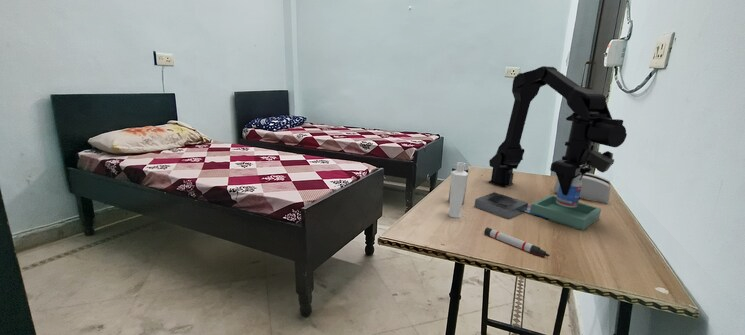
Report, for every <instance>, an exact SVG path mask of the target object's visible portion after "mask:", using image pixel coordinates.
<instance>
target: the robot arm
mask: <svg viewBox="0 0 745 335" xmlns="http://www.w3.org/2000/svg"><path fill="white" fill-rule="evenodd" d="M544 86H549V87H550V88H551V89H553V90H554V91H555V92H557V94H559V95H560V96H562V97H563V98H564V99H565V100H566V104H567V107H569V108H570V110H571V111H572V112H573V113H572V114H570V115H569V116H567V117H566V118H565V119H566V121H570V122H571V125H570V132H569V136H568V140H567V141H565V142H564V146H565V147H566V150H565V153H564V155H562V156H561V159H558V160H555V161H553V162H551V164H550V172H553V173H555V174H556V177H557V178H558V180H559V184H560V187H561V190H562V194H563V195H567V194H568V192H569V190H570V188H571V185H572V183H573V180H574V179H575V178H576V177H578V176H580V175H581V178H580V179H579V180H580V181H581V179H582V177H583V175H584V174H585V173H590V172H591V171H593V169H596V170H597V172H599V173H606V172H607V171H609V169H610V168H611V166H613V164H614V163H615V159H614V158H613V156H614V153H612V152H611V151H609V150H607V151H604V152H601V151H597V150H595V148H596V145H595V144H598V145H603V146H607V147H610V148H618V147H620V146H621V145H623V144H624V142H625V140H626V138H627V135H628V134H627V129H626V126H624V120H623V119H619V118H618V119H617V118H616V119H615V118H613V117H612V114H611V111H610V110H609V107H608V105H607V98H606V96H605V95H604V94H603V93H601V92H598V91H595V90H592V89H589V88H586V87H583V86H581V85H579V84H577V83H576V82H574V81H573V80H572V79H570V78H569V77H568V76H566V75H564V74H563V73H562V72H560V71H559V70H558V69H557V68H556V67H554V66H540V67H538V68H536V69H535V68H534V69H532V70H529V71H524V72H520V73H518V74H516V75H515V76H514V78H513V81H512V86H511V93H512V94H513V98H514V102H513V105H512V106H513V107H512V110H511V114H510V118H509V122H508V127H507V130H506V133H505V134H506V136H505V138H504V141H502V143H501V144H500V145H499V146H498V148H497V150H496V153H495V154H494V155H493V156H492V157H491V158H490V159H489V167H491V168H492V172H491V179H490V180H488V183H489V184H493V185H496V186H499V187H503V188H506V187H508V186H511V185H513V180H514V171H513V170H514V169H515V170H517V169H518V167H519V165H520V164H521V161H524V159H523V158H524V154H525V149H524V148H522V145H521V139H522V135H523V132H524V128H525V124H526V120H527V117H528V112H529V109H530V104H531V102H532V101H533V100H534V99H535V98H536V96H537V95H538V94H539V91H540V89H541V87H544ZM588 166H591V168H590V167H588ZM579 172H580V173H581V174H579ZM557 178H556V179H557Z"/></svg>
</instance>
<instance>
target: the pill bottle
mask: <svg viewBox="0 0 745 335" xmlns="http://www.w3.org/2000/svg"><path fill="white" fill-rule="evenodd" d="M579 174H581V173H580V172H579ZM580 178H581V175H580V176H578V177H576V178H575V179H574V180H573V183H572V185H571V188H570V190H569V192H568V194H567V195H563V194H562V190H561V187H560V186H559V191H558V193H557V195H556V196H557V200H556V203H557V204H559V205H561V206H564V207H570V208H573V207H576V206H577V204H578V202H579V199H580V198H579V196H580V191H581V187H582V182H581V181H580V180H579V179H580Z"/></svg>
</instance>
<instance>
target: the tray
mask: <svg viewBox="0 0 745 335" xmlns="http://www.w3.org/2000/svg"><path fill="white" fill-rule="evenodd" d="M556 200H557V195H554V194H549V195H548V196H545V197H543V198H541V199H539V200H538V199H537V201H535V202H532V203H531V205H530V206H531V209H530V213H533V214H536V215H539V216H542V217H545V218H548V219H549V220H548V221H552V222H555V223H558V224H561V225H565V226H568V227H569V228H574V229H576V230H580V231H584V230H585V229H586V228H588V227H589V226H591V225H592V224H593V223H594V222H597V221H598V219H600V216H601V215H600V214H601V211H602V208H601V207H597V206H593V205H590V204H587V203H582V202H580V201H578V204H577V206H576V207H573V208H570V207H564V206H561V205H559V204H557V203H556Z"/></svg>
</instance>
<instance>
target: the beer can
mask: <svg viewBox="0 0 745 335" xmlns="http://www.w3.org/2000/svg"><path fill="white" fill-rule="evenodd" d="M457 163H458V162H456V163H454V164H453V165H452V167H451V168H452V169H451V172H452V171H455V170H457ZM464 171H466V172H467V173H468V174H469V167H468V164H466V163H465V165H464ZM467 183H468V182H467ZM467 183H466V186H467ZM450 188H451V181H450V184H449V189H450ZM448 191H449V194H448V202H450V190H448ZM466 191H467V187H466V188H465V193H464V198H463V203H462V204H464V203H465V199H466Z"/></svg>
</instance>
